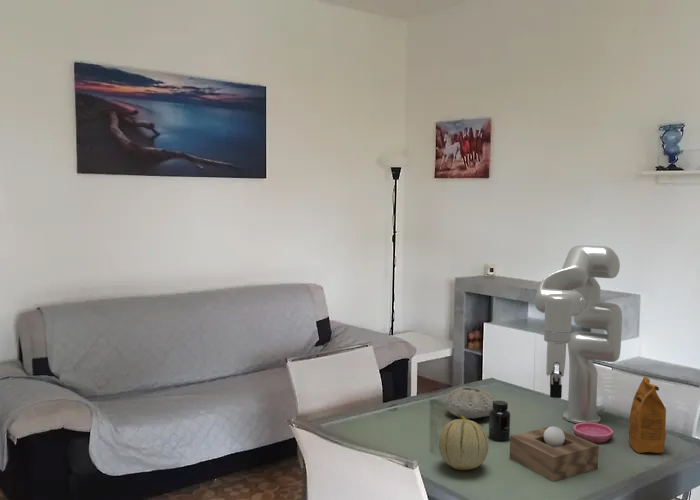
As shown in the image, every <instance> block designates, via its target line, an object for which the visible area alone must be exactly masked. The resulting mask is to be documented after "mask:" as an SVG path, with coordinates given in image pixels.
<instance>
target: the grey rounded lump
mask: <svg viewBox="0 0 700 500" xmlns="http://www.w3.org/2000/svg"><path fill="white" fill-rule="evenodd" d="M493 401H496V399H495V397H494V396H493V394H492V393H490V392H489V391H487V390H485V389H483V388H479V387H477V388H476V387H471V386H464V385H463V386H460V387H457V388H456V387H455V388H454V389H453V390H450V391H449V393H448V394H447V396H446V401H445V406H446V408H447V410H448V412H449V413H450V414H452V415H453V416H456V417H458V418H460V417H459V416H460V415H462V416H463V417H465V418H466V419H467V420H469V419H478V418H479V419H480V418H482V417H483V418H484V417H489V412H490V411H491V410H492V409H493V408H492V406H493Z"/></svg>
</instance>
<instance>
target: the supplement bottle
mask: <svg viewBox="0 0 700 500" xmlns="http://www.w3.org/2000/svg"><path fill="white" fill-rule="evenodd" d="M508 406H509V405H508V402H507V401H504V400H495V401H493V406H492V408H493V409H492V410H491V411H490V412H489V416H488V417H489V418H488V437H489V439H490V440H493V441H494V442H495V441H496V442H506V441H508V440H510V436H511V412H510V411H509V410H508V408H509V407H508Z"/></svg>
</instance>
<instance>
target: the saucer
mask: <svg viewBox="0 0 700 500" xmlns="http://www.w3.org/2000/svg"><path fill="white" fill-rule="evenodd" d="M572 430H573V432H574V434H575V435H576V436H578V437H580V438H583V439H585V440H587V441H590V442H592V443H594V444H596V443H597V444H600V443H606V442H607V441H608V440H609V439H611V438H612V436H614V429H612V428H611V427H609V426H608V425H605V424H602V423H578V424H577V423H575V424H574V425H573V429H572Z"/></svg>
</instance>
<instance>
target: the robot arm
mask: <svg viewBox="0 0 700 500" xmlns="http://www.w3.org/2000/svg"><path fill="white" fill-rule="evenodd" d="M620 264H621V263H620V259H619V256H618V255H617V253H616V252H615V251H614V249H612V248H611V247H608V246H604V245H583V244H580V245H576V246H573V247H571V248H570V250H569V251H568V253H567V255H566V258H565V261H564V263H563V265H562V267H561V269H559V270H556V271H555V272H553V273H551V274H548V275H547V276H545V277H544V278H543V279H542V280H541V282H540V284H539V286H538V288H537V291H536V293H535V297H534V305H535V309H536V310H537V311H539V312H540V313H543V314H544V328H543V329H544V331H543V332H544V333H543V335H544V336H543V341H545V342H546V345H547V346H546V363H545V364H546V365H545V366H546V369H545V370H546V372H545V374H546V375H547V376H548V377H549V378H550V379H549V388H550V389H549V397H550V398H553V399H561V398H562V396H563V395H562V393H563V392H562V389H563V388H562V387H563V384H562V377H564V376H565V369H566V368H565V367H566V355H567V351H568V360H569V363H568V364H569V370H568V393H567V397H568V398H567V410H565V411H564V412H563V413H562V417H563V419H564V420H566V421H568V422H570V423H573V424H578V423H597V424H600V422H601V416H600V415H599V413H600V412H604V411H605V410H606V408H605V406H604V405H597V401H598V400H597V399H598V398H597V397H598V369H597V368H596V366H595V364H594V362H593V361H598V362H599V361H600V362H607V363H615V362H617V361H618V360H619V359H620V356H621V349H622V346H621V345H622V327H623V313H622V312H623V311H622V308H621V307H620V306H619V305H618V304H617V303H613V302H612V303H611V302H602V301H601V290H602V289H601V285H600V284H599V282H598V281H597V280H596V279H597V278H598V279H614V278H616V277H618V274H619V272H620V268H621V265H620ZM572 317H573V322H574V324H575V325H576V326H577V327H579V328H585V329H593V330H594V329H595V330H600V331H601V330H602V331H605V332H606V333H601V332H600V333H599V332H593V331H592V332H591V331H584V330H583V331H582V330H580V331H573V332H572Z"/></svg>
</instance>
